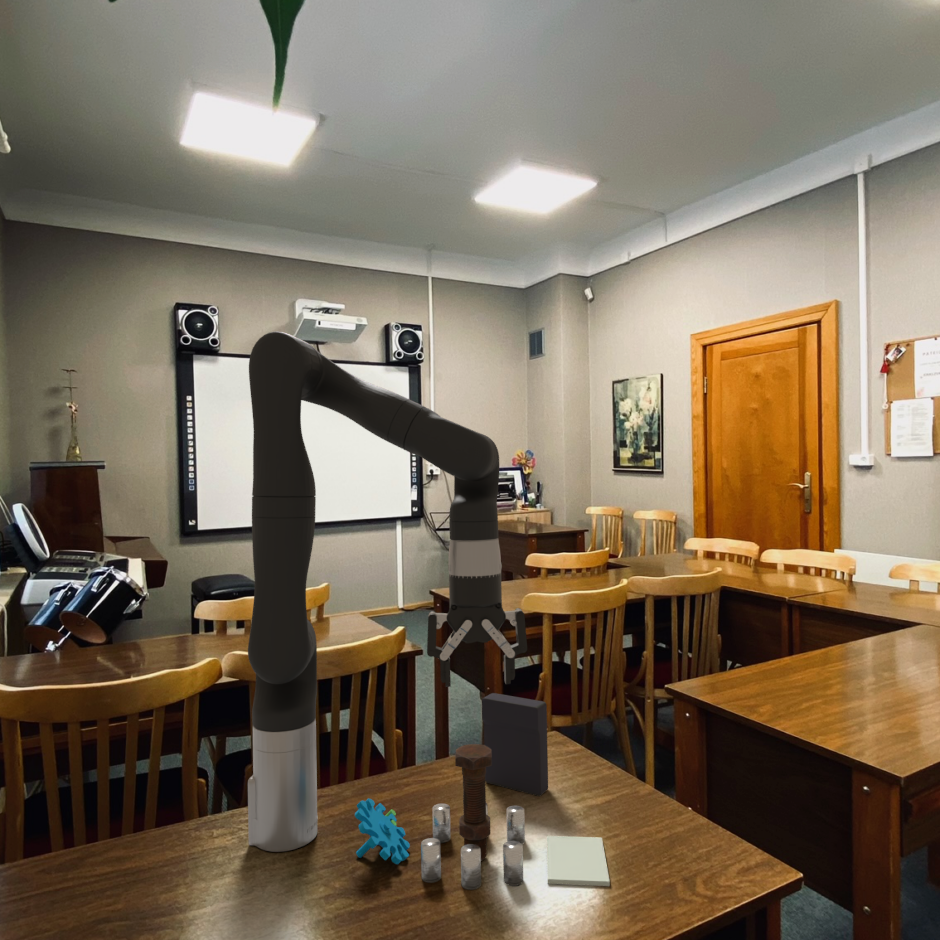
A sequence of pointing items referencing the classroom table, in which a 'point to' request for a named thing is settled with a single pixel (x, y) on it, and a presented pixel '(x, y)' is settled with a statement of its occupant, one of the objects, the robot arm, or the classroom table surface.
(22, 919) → the classroom table surface
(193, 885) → the classroom table surface
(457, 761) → the bolt
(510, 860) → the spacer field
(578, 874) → the plate
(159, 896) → the classroom table surface
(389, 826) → the gear
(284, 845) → the robot arm
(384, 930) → the classroom table surface
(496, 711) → the dark grey slab
